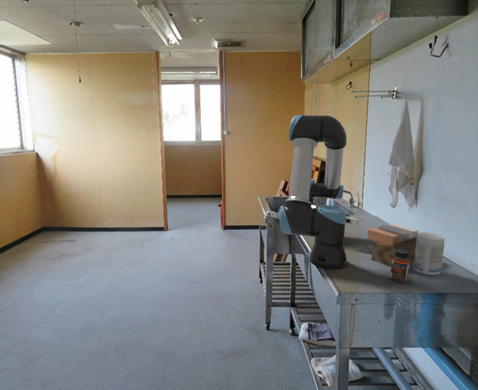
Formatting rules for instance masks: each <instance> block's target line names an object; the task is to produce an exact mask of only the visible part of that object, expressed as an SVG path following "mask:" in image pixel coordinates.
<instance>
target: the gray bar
mask: <svg viewBox="0 0 478 390" xmlns="http://www.w3.org/2000/svg"><path fill="white" fill-rule="evenodd" d="M377 229H380V230H383V231H386V232H390V233H393V234H396V235H399V242H400V241H403V240H407V239H408V237H409V233H408V232H405V231H401V230H397V229H394V228H390V227H388V225H380V226H377Z"/></svg>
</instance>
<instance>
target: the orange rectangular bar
mask: <svg viewBox="0 0 478 390" xmlns="http://www.w3.org/2000/svg"><path fill="white" fill-rule="evenodd" d="M366 237H367V239H369V240H373V241H378V242H381V243H384V244H387V245H390V246H394V245H395V243H396V242H399V235H396V234H393V233H390V232H386V231H383V230H380V229H378V228H376V227H372V228H368V229H367V236H366Z"/></svg>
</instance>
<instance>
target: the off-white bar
mask: <svg viewBox="0 0 478 390" xmlns="http://www.w3.org/2000/svg"><path fill="white" fill-rule="evenodd" d="M387 227H390V228H394V229H397V230H401V231H405V232H408V233H409V237H408V239H410V238H414V237H417V235H418V233H419V230H418V229H415V228H411V227H408V226H404V225H401V224H400V225H399V224H396V223H389V224H387Z"/></svg>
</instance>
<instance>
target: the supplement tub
mask: <svg viewBox="0 0 478 390" xmlns="http://www.w3.org/2000/svg"><path fill="white" fill-rule="evenodd" d="M445 242H446V241H445V237H444V236H443V235H441V234H439V233H434V232H426V231H424V232H418V235H417V241H416V250H415V259H414V261H413V269H414V271H416V272H418V273H420V274H423V275H426V276H438V275H440V274H441V273H442V265H443V257H444V250H445Z"/></svg>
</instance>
